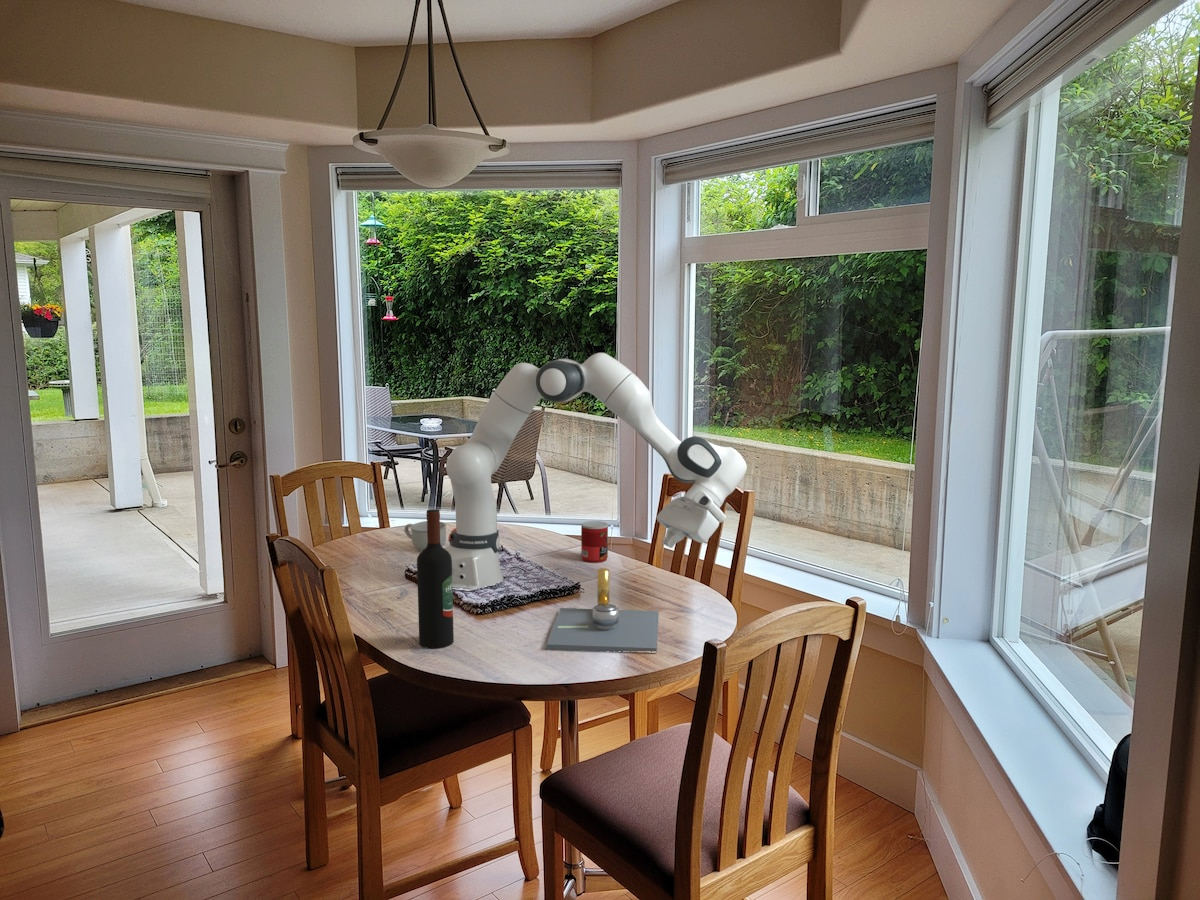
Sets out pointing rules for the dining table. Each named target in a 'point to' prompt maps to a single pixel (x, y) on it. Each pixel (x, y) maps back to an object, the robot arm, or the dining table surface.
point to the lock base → (604, 632)
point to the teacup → (423, 534)
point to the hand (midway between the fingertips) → (666, 545)
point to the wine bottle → (435, 589)
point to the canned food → (594, 541)
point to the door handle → (604, 602)
